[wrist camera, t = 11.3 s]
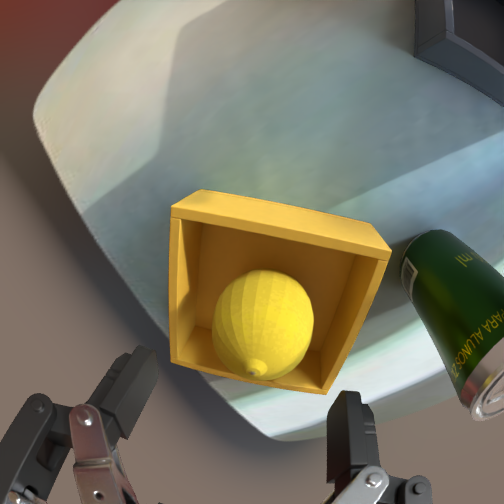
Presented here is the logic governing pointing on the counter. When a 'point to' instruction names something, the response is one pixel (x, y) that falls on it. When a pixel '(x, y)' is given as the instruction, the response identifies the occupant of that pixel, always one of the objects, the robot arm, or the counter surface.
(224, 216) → the yellow bin
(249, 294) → the lemon
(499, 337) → the beer can
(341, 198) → the counter surface
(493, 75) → the slate bin
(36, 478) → the robot arm
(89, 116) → the counter surface
